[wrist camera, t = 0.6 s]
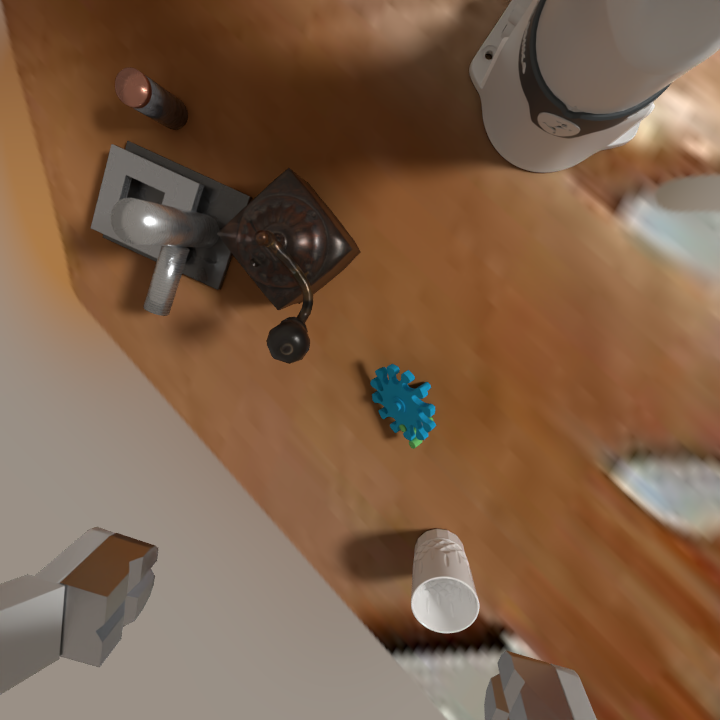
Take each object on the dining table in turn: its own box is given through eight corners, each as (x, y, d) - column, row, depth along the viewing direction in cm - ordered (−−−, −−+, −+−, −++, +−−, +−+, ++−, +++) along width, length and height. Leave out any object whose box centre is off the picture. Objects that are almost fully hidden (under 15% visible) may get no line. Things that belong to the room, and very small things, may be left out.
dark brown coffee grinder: (242, 241, 53) (159, 232, 35) (309, 180, 50) (255, 138, 33) (321, 339, 54) (280, 377, 37) (389, 285, 52) (380, 298, 34)
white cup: (439, 513, 58) (445, 564, 48) (479, 550, 59) (493, 608, 49) (398, 547, 60) (397, 603, 50) (438, 583, 61) (444, 644, 51)
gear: (358, 364, 53) (417, 375, 45) (391, 346, 56) (452, 353, 48) (379, 439, 56) (437, 461, 49) (409, 418, 60) (468, 435, 52)
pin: (164, 92, 49) (119, 61, 42) (191, 104, 49) (151, 76, 42) (156, 122, 50) (111, 97, 43) (182, 134, 50) (142, 111, 43)
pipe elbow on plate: (131, 142, 51) (24, 97, 37) (252, 197, 51) (191, 173, 37) (99, 266, 55) (-9, 269, 41) (210, 317, 55) (141, 338, 41)
